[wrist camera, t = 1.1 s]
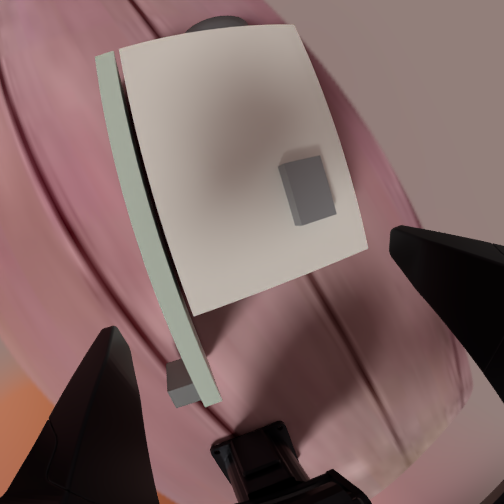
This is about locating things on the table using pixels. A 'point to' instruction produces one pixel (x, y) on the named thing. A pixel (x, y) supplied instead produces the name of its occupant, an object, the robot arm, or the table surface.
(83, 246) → the table surface
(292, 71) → the camera case
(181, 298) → the side door
